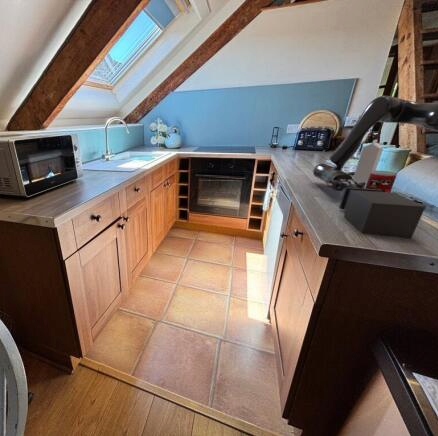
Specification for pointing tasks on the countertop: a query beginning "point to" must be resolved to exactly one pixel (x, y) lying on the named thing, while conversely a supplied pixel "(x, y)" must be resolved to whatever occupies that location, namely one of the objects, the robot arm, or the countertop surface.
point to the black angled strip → (348, 193)
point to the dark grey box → (383, 213)
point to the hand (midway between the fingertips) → (355, 190)
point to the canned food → (381, 180)
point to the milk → (367, 162)
